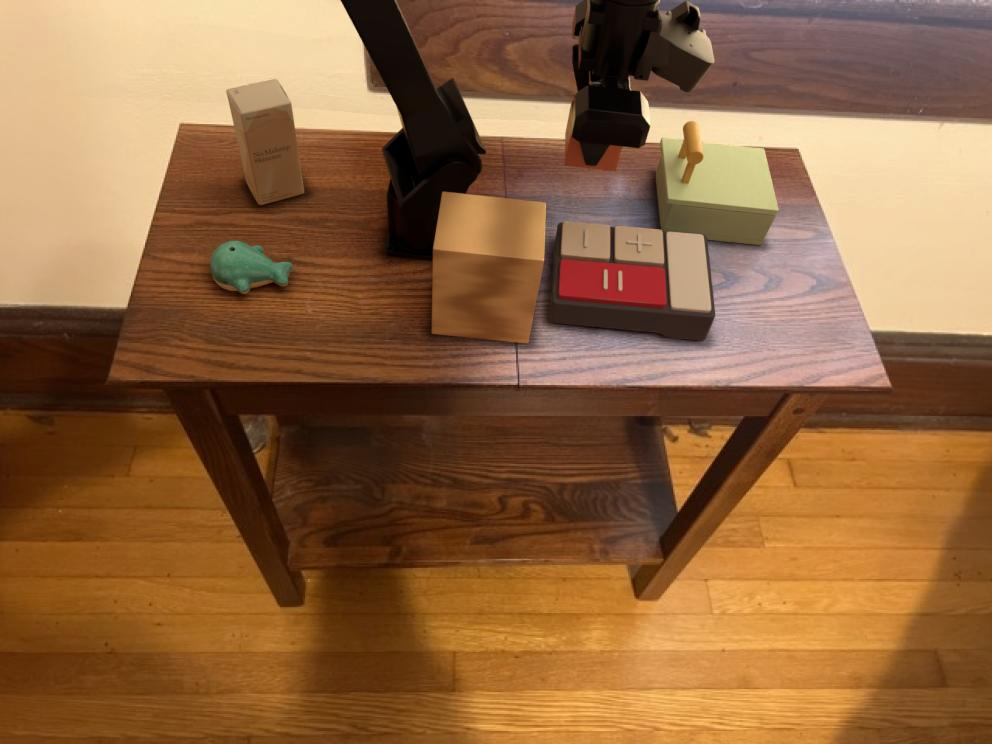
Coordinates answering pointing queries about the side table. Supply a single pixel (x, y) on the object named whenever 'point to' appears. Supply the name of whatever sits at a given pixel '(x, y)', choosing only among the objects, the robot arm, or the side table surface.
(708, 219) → the chest
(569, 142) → the block
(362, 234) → the side table surface
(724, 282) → the side table surface
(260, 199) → the box
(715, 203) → the lid
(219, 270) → the whale figurine
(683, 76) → the robot arm
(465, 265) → the stand
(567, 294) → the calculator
